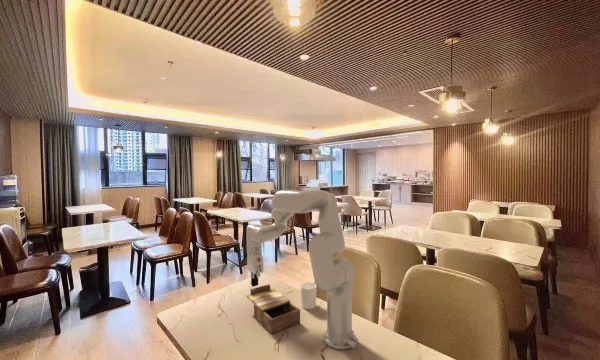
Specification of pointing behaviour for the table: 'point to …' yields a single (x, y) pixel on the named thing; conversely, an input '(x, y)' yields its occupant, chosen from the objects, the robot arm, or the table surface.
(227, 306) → the table surface
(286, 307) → the tea box
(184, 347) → the table surface
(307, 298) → the white cup
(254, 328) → the table surface
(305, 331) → the table surface
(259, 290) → the tea box lid
